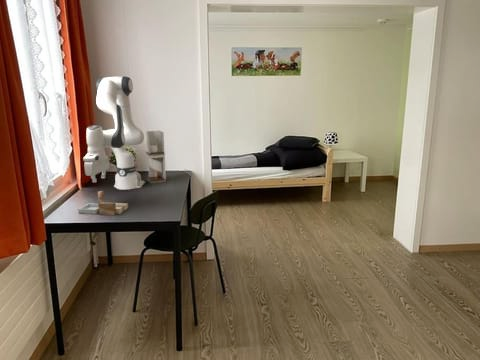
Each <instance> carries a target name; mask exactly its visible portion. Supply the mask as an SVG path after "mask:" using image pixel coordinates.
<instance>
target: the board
mask: <svg viewBox="0 0 480 360" xmlns="http://www.w3.org/2000/svg"><path fill="white" fill-rule="evenodd" d="M115 203H116V214H115V215H118V214H119V215H120V214H122V213H123V212H125V211H126V210H127V209H129V203H128V202H127V203H126V202H125V203H123V202H115ZM98 210H99V208H98Z"/></svg>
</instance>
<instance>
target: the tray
mask: <svg viewBox="0 0 480 360" xmlns="http://www.w3.org/2000/svg"><path fill="white" fill-rule="evenodd" d="M98 204H99V203H89V202H88V203H87V204H85V205H83V206H81V207H79V208H78V210H77V211H78V214H81V215H82V214H86V215H97V214H99V210H98V208H99V206H98Z"/></svg>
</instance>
